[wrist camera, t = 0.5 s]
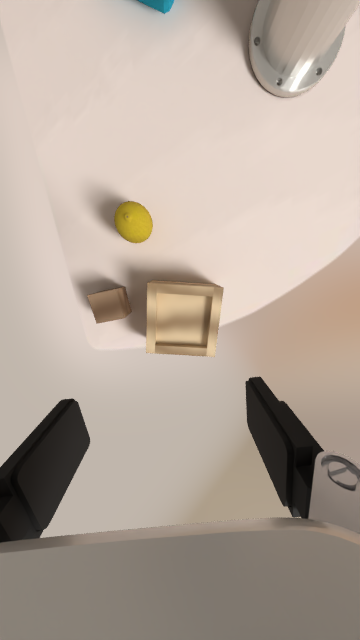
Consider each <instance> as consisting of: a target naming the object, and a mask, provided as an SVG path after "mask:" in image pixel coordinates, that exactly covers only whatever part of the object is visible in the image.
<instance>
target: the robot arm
mask: <svg viewBox="0 0 360 640" xmlns="http://www.w3.org/2000/svg"><path fill="white" fill-rule="evenodd" d="M359 5H360V0H259V1H258V4H257V6H256V9H255V12H254V16H253V19H252V22H251V28H250V33H249V55H250V61H251V65H252V69H253V71H254V73H255V75H256V78H257V79H258V81H259V82H260V83H261V85H262V86H263V87H264V88H265V89H266V90H267V91H269V92H271V93H272V94H274V95H277V96H281V97H294V96H298V95H301V94H303V93H305V92H307V91H309V90H310V89H311V88H313V87H314V86H315V85H316V84H317V83H318V82H319V81H320V80H321V79H322V78H323V76H324V75H325V74H326V72H327V71H328V70H329V68H330V67H331V65H332V64H333V62H334V60H335V59H336V57H337V54H338V52H339V50H340V47H341V44H342V41H343V37H344V33H345V26H346V24H347V22H348V21H349V19H350V18H351V16H352V15H353V13H354V12H355V10H356V9H357V8H358V6H359ZM246 404H247V423H248V427H249V430H250V432H251V434H252V437H253V439H254V441H255V444H256V446H257V448H258V450H259V453H260V455H261V457H262V459H263V462H264V464H265V466H266V468H267V471H268V473H269V475H270V478H271V480H272V482H273V484H274V487H275V489H276V491H277V494H278V496H279V498H280V500H281V502H282V504H283V506H288V508H289V510H290V512H291V514H292V517H301V518H260V519H246V520H230V521H218V522H207V523H196V524H183V525H172V526H160V527H151V528H139V529H128V530H118V531H107V532H97V533H86V534H76V535H67V536H57V537H47V538H40V535H41V534H42V532H43V530H44V529H46V528H47V526H48V525H49V523H50V521H51V519H52V518H53V516H54V514H55V512H56V510H57V508H58V506H59V504H60V502H61V500H62V498H63V496H64V494H65V492H66V490H67V488H68V486H69V484H70V482H71V480H72V478H73V476H74V474H75V472H76V470H77V468H78V466H79V464H80V463H81V461H82V459H83V457H84V454H85V452H86V451H87V449H88V447H89V444H90V437H89V434H88V431H87V428H86V425H85V422H84V419H83V416H82V413H81V410H80V407H79V404H78V402H77V401H75V400H74V399H64V400H61V401H60V402H59V403H58V404H57V405H56V406H55V407H54V408H53V409H52V411H51V412H50V413H49V414H48V415H47V416H46V417H45V418H44V419H43V421H42V422H41V423H40V424H39V425H38V426H37V427H36V429H34V431H33V432H32V433H31V434H30V435H29V436H28V437H27V438H26V440H25V441H24V442H23V443H22V444H21V445H20V446H19V447H18V448H17V449H16V451H15V452H14V453H13V454H12V455H11V456H10V457H9V458H8V459H7V461H6V462H5V463H4V464H3V465H2V466H1V467H0V640H360V465H359V464H358V463H357V462H355V461H354V460H353V459H351V458H349V457H347V456H345V455H343V454H341V453H338V452H334V451H324V450H323V449H322V448H321V447H320V445H319V444H318V443H317V441H316V440H315V439H314V438H313V436H312V435H311V434H310V433H309V431H308V430H307V429H306V428H305V426H304V425H303V424H302V423H301V421H300V420H299V419H298V418H297V416H296V415H295V414H294V413H293V411H292V410H291V409H290V408H289V406H288V405H287V404H286V403H285V402H284V401H279V400H278V399H277V398H276V397H275V395H274V394H273V393H272V391H271V390H270V389H269V387H268V386H267V385H266V383H265V382H264V381H263V379H262V378H261V377H253V378H249V381H246Z"/></svg>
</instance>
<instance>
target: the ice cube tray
mask: <svg viewBox="0 0 360 640" xmlns="http://www.w3.org/2000/svg"><path fill="white" fill-rule="evenodd" d="M138 1H140V2H142V3H144V4H146V5H148V6H150V7H152V8H154V9H156V10H158V11H160V12H162V13H164V14H165V13H166V12H168V11H170V9H171V7H172V5H173V2H174V0H138Z"/></svg>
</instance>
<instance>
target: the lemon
mask: <svg viewBox="0 0 360 640" xmlns="http://www.w3.org/2000/svg"><path fill="white" fill-rule="evenodd" d="M114 221H115V226H116V228H117V231H118V232H119V234H120V235H121V236H122V237H123V238H124V239H125V240H127V241H129V242H132V243H141V242H143V241H145V240H146V239H148V237H149V236H150V234H151V232H152V227H153V224H152V219H151V216H150V214H149V212H148V211H147V209H146V208H145V207H144V206H142V205H141V204H139V203H136V202H132V201H128V202H124V203H123V204H121V205H120V206H119V207H118V208H117V210H116V212H115V216H114Z"/></svg>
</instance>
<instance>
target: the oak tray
mask: <svg viewBox="0 0 360 640" xmlns="http://www.w3.org/2000/svg"><path fill="white" fill-rule="evenodd" d="M222 296H223V287H221V286H218V285H216V284H202V283H186V282H171V281H156V280H152V281H150V282H148V283H147V333H146V353H157V354H175V355H192V356H211V357H215V351H216V343H217V334H218V327H219V320H220V312H221V304H222Z"/></svg>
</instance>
